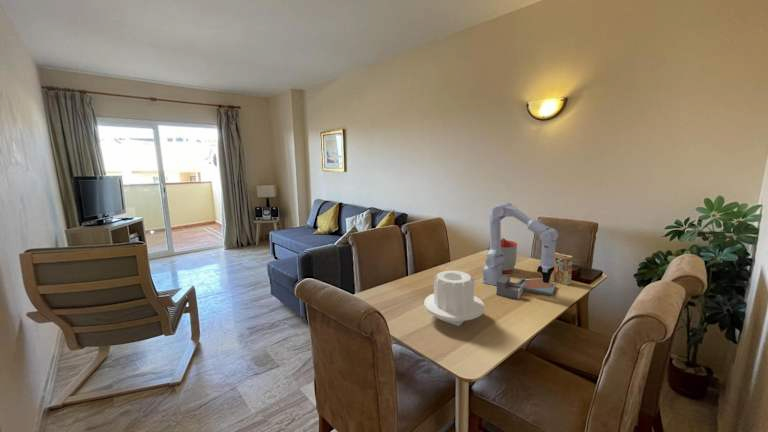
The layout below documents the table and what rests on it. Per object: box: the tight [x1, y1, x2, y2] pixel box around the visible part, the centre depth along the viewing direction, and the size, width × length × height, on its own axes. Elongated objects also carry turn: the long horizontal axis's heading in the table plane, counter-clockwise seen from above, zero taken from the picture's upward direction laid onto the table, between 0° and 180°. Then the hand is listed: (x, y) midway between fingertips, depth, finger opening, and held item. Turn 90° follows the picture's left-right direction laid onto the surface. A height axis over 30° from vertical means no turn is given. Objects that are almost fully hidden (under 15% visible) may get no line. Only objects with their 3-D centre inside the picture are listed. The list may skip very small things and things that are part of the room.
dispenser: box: [496, 274, 524, 300], centre depth 156 cm, size 10×10×7 cm
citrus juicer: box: [486, 237, 518, 274], centre depth 187 cm, size 16×17×20 cm
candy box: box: [550, 252, 574, 286], centre depth 167 cm, size 9×4×15 cm, turn 34°
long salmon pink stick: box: [524, 277, 552, 289], centre depth 150 cm, size 11×1×4 cm, turn 54°
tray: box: [517, 277, 557, 297], centre depth 162 cm, size 17×13×2 cm
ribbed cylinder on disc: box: [423, 269, 485, 327], centre depth 133 cm, size 25×25×19 cm
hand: (546, 282), depth 148 cm, fingers closed on long salmon pink stick, 1 cm apart
